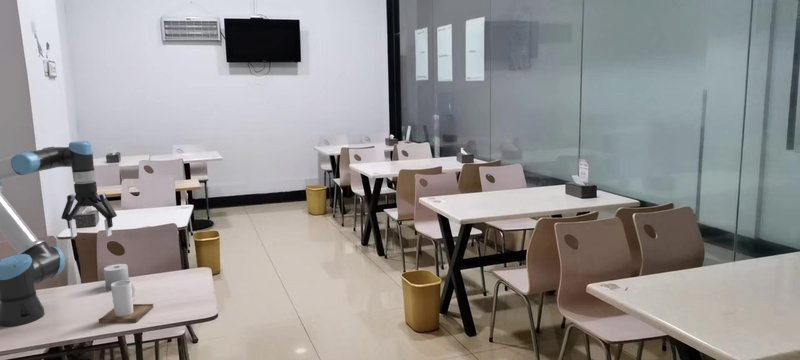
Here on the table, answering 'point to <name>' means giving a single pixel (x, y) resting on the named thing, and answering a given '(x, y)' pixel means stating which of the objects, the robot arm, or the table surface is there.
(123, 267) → the toilet tissue
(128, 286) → the mug
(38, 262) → the robot arm
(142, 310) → the wooden coaster
